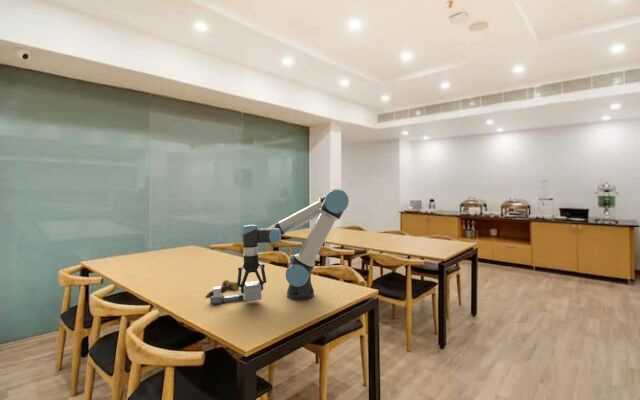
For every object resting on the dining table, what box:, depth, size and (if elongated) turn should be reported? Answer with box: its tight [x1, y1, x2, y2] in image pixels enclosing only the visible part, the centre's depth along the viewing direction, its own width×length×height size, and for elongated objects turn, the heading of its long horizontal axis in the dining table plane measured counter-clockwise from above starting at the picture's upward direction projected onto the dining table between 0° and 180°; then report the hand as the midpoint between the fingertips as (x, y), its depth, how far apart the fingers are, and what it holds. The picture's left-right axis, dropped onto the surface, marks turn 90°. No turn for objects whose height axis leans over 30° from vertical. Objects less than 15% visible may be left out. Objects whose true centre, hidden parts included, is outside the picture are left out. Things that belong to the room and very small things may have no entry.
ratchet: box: [209, 285, 245, 306], centre depth 172 cm, size 22×7×8 cm, turn 114°
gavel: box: [205, 279, 240, 298], centre depth 185 cm, size 21×5×10 cm
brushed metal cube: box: [244, 280, 262, 303], centre depth 168 cm, size 8×8×8 cm
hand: (252, 297), depth 168 cm, fingers closed on brushed metal cube, 7 cm apart
